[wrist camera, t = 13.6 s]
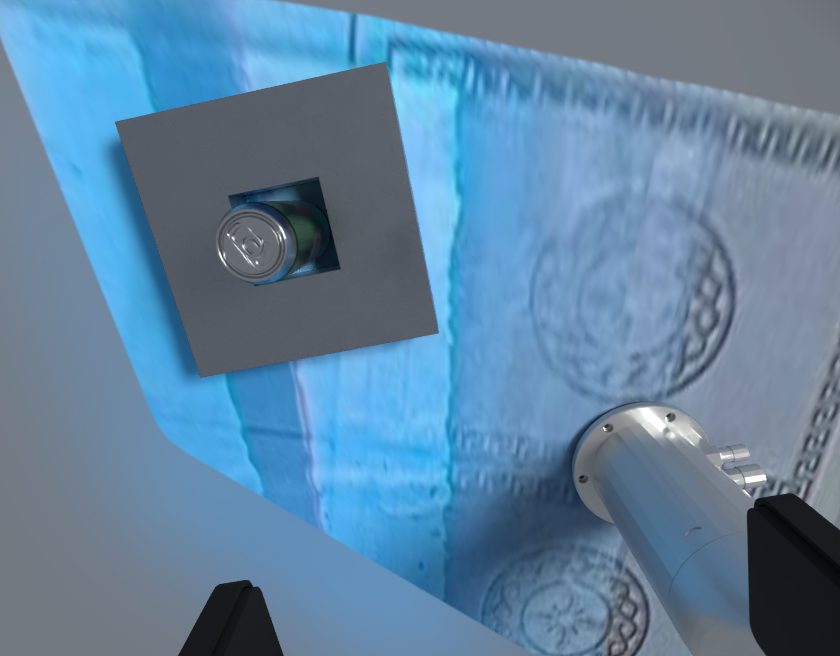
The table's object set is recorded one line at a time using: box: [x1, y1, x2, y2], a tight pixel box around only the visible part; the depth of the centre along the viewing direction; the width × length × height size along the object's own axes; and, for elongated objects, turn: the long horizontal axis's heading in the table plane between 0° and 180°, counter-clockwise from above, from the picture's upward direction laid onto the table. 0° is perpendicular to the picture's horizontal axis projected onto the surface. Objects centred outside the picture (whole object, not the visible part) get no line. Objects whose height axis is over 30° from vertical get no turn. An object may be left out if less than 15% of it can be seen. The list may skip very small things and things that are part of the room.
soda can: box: [215, 200, 330, 285], centre depth 34 cm, size 5×5×12 cm
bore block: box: [115, 62, 439, 377], centre depth 39 cm, size 20×20×4 cm
